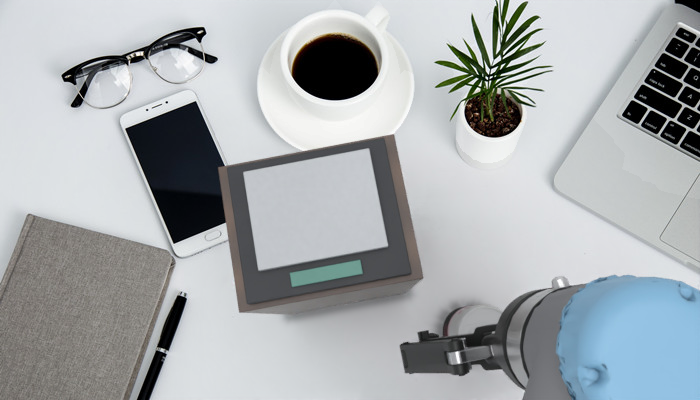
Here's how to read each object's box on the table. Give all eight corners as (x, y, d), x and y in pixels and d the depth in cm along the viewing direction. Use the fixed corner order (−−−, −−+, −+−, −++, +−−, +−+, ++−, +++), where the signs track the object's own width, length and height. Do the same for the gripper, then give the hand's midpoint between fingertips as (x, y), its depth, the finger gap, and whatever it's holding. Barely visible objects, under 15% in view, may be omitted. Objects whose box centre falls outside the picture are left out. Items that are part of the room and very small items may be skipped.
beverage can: (492, 356, 81) (518, 364, 67) (443, 356, 82) (458, 365, 67) (489, 306, 83) (514, 303, 68) (441, 307, 83) (455, 304, 68)
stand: (405, 292, 83) (423, 278, 52) (290, 314, 84) (239, 312, 52) (387, 200, 86) (394, 133, 55) (275, 221, 86) (217, 167, 55)
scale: (411, 274, 52) (412, 272, 50) (249, 304, 52) (244, 304, 50) (384, 141, 55) (384, 134, 53) (229, 170, 55) (224, 164, 53)
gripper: (732, 253, 41) (612, 274, 62) (364, 322, 41) (368, 319, 62) (767, 368, 39) (632, 349, 60) (386, 439, 40) (382, 396, 60)
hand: (498, 334), depth 61 cm, fingers open, 13 cm apart
